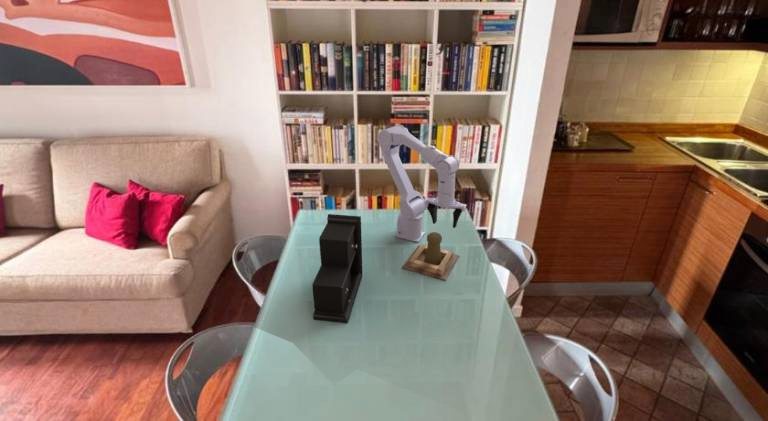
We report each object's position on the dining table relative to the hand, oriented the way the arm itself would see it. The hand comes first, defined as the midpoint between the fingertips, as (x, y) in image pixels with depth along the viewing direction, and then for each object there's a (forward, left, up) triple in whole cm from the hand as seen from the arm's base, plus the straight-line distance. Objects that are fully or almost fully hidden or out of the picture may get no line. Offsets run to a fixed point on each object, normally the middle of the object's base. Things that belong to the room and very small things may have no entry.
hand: (444, 224), depth 149 cm
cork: (0, -10, -10) cm, 14 cm away
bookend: (-21, -41, -11) cm, 47 cm away
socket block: (-1, -10, -10) cm, 15 cm away
